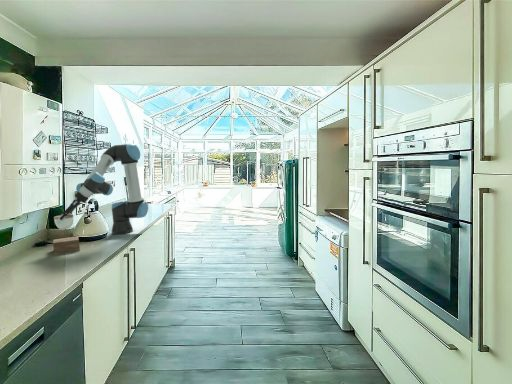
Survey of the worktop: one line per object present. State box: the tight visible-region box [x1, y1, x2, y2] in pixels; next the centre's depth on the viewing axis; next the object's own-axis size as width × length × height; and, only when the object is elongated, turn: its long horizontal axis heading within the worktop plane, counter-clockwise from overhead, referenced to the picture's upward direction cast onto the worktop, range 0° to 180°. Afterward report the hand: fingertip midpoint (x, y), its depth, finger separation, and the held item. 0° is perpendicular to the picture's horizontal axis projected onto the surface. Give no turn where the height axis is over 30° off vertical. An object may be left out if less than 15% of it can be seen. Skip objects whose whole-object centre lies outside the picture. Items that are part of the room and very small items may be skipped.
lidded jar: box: [53, 213, 74, 230], centre depth 242 cm, size 11×11×9 cm
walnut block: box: [52, 235, 81, 255], centre depth 244 cm, size 14×14×7 cm
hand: (59, 222), depth 242 cm, fingers closed on lidded jar, 11 cm apart
